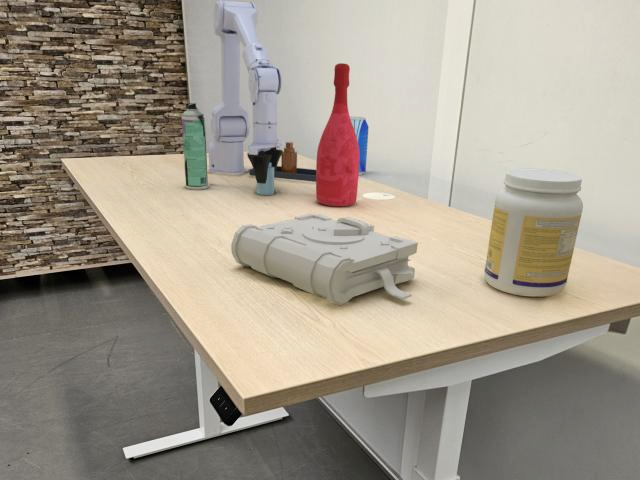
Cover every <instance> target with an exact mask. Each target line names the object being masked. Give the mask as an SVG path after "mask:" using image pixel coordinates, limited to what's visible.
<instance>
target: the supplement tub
mask: <svg viewBox="0 0 640 480" xmlns="http://www.w3.org/2000/svg"><path fill="white" fill-rule="evenodd" d="M582 182H583V178H582V176H580V175H578V174H576V173H571V172H568V171H561V170H554V169H546V168H526V167H524V168H512V169H508V170H507V171H506V173H505V178H504V180H503V184H504V186H505V187H504V188H503V189H501V190H500V191H499V192H498V193H497V194H496V197H495V200H494V207H493V212H492V219H491V226H490V233H489V240H488V246H487V252H486V254H487V255H486V260H485V266H484V270H483V271H484V272H483V273H484V275H483V276H484V279H485V281H486V282H487V284H488V285H489V286H491V287H492V288H494V289H496V290H498V291H501V292H504V293H508V294H510V295H513V296H514V295H515V296H521V297H529V298H531V297H535V298H536V297H537V298H538V297H539V298H540V297H542V298H543V297H551V296H554V295H557V294H559V293H561V292H562V291H563V290H564V289H565V287H566V285H567V283H568V278H569V273H570V268H571V263H572V259H573V256H574V251H575V246H576V241H577V238H578V237H577V236H578V233H579V227H580V222H581V219H582V218H581V217H582V213H583V208H584V204H583V199H581V197H580V196H579V195H578V192H581V190H582Z"/></svg>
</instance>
